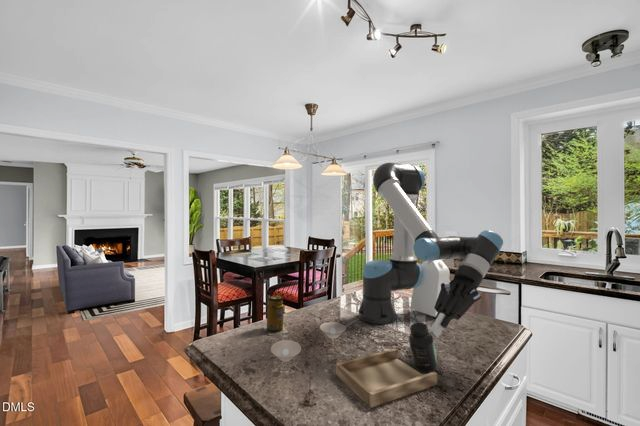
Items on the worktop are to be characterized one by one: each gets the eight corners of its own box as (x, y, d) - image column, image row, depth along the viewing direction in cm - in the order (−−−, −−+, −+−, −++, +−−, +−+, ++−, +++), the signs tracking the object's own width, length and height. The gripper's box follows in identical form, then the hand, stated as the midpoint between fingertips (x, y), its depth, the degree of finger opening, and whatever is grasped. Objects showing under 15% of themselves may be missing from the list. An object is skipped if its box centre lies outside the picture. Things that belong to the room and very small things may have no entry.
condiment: (281, 324, 122) (281, 293, 122) (288, 332, 114) (289, 299, 114) (262, 327, 119) (262, 296, 119) (269, 336, 111) (269, 302, 111)
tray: (395, 358, 96) (395, 348, 96) (436, 384, 82) (437, 373, 82) (335, 374, 86) (335, 363, 86) (370, 408, 72) (371, 395, 72)
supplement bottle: (443, 363, 89) (436, 326, 87) (426, 376, 86) (419, 337, 84) (424, 353, 95) (417, 317, 93) (408, 364, 92) (401, 328, 90)
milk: (423, 304, 148) (428, 249, 147) (447, 312, 139) (453, 253, 139) (410, 308, 139) (416, 250, 139) (435, 316, 131) (441, 254, 131)
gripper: (496, 283, 94) (459, 350, 86) (458, 276, 105) (422, 334, 97) (485, 267, 91) (445, 334, 83) (448, 261, 103) (409, 319, 95)
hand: (433, 334), depth 90 cm, fingers closed
